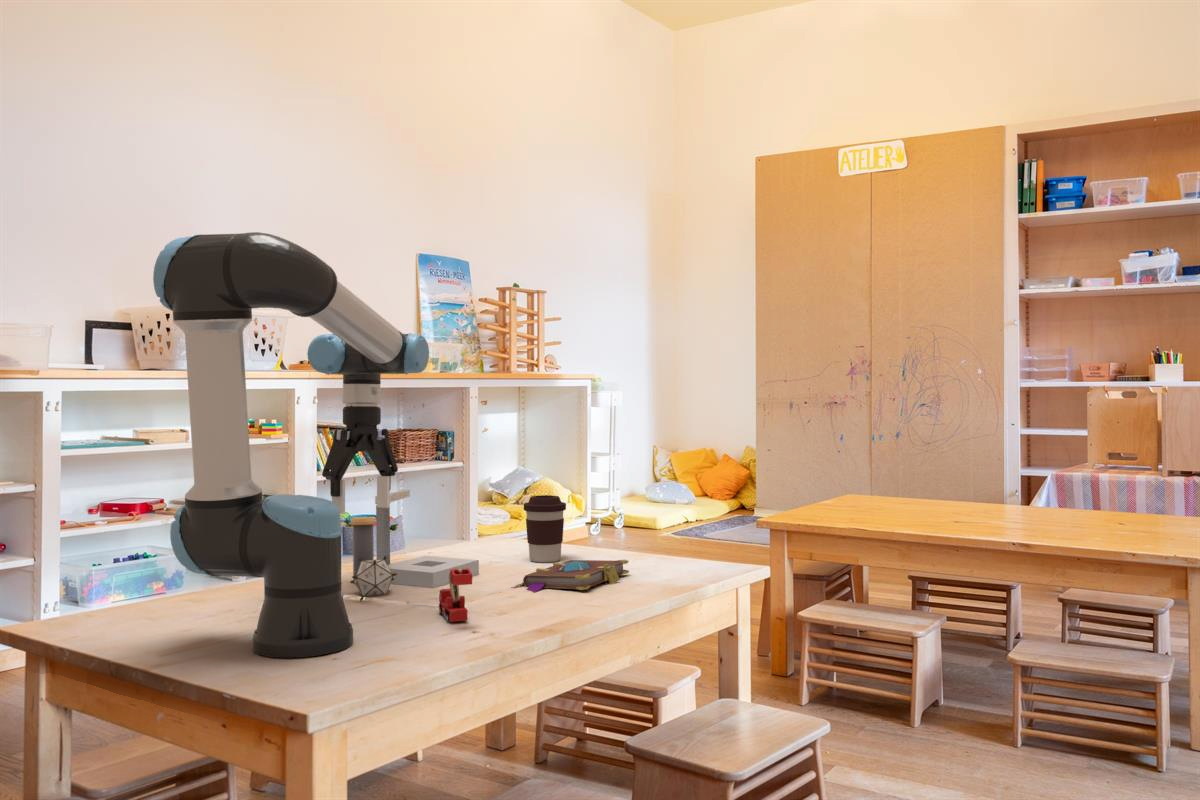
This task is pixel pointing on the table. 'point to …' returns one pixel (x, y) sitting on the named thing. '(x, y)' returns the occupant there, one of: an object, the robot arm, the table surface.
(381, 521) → the post
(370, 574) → the game die
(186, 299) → the robot arm
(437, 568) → the socket block
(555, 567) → the book
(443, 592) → the toy fire truck
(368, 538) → the plug
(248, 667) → the table surface
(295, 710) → the table surface
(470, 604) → the table surface
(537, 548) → the coffee cup
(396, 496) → the silver ball-ended lever
